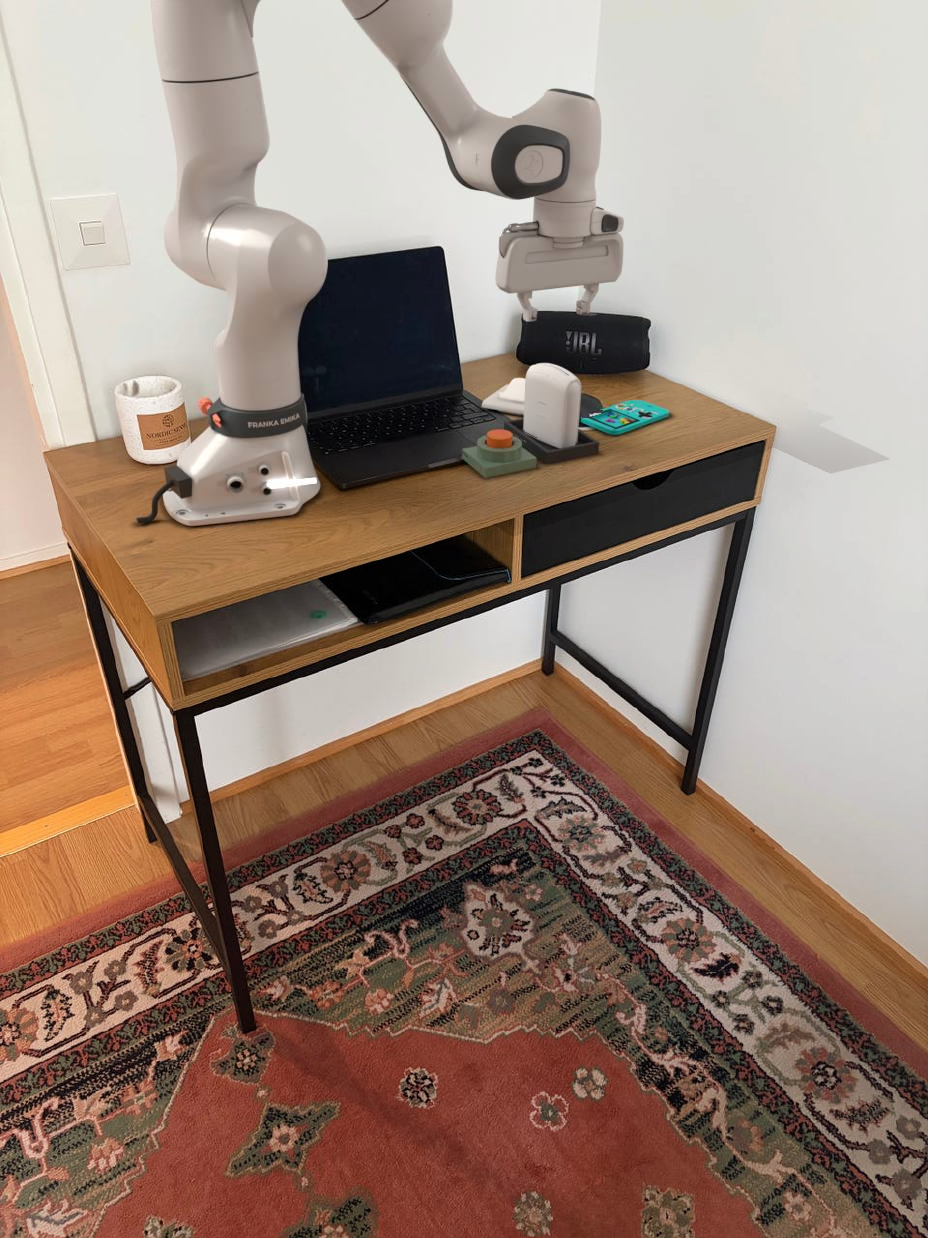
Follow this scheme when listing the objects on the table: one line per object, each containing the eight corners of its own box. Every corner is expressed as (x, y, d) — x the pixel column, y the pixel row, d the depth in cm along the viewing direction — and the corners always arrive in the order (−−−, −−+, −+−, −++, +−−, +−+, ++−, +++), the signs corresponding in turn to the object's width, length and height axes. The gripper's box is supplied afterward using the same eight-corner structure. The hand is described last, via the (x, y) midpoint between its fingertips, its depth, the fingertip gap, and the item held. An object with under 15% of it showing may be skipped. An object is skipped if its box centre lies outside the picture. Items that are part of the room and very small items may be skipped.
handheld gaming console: (672, 409, 160) (615, 430, 152) (671, 415, 160) (614, 436, 152) (635, 396, 165) (578, 416, 157) (635, 402, 166) (578, 421, 157)
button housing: (485, 478, 138) (485, 456, 136) (462, 458, 144) (462, 438, 142) (536, 467, 142) (537, 446, 140) (511, 449, 147) (512, 428, 146)
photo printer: (518, 433, 152) (522, 360, 145) (537, 427, 154) (541, 355, 147) (561, 453, 145) (567, 377, 138) (580, 446, 147) (587, 372, 140)
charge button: (494, 451, 139) (494, 440, 138) (482, 442, 142) (482, 431, 141) (516, 447, 140) (517, 436, 139) (504, 438, 143) (505, 427, 142)
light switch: (563, 379, 166) (540, 397, 156) (561, 401, 168) (538, 420, 158) (508, 370, 169) (482, 387, 159) (506, 392, 171) (480, 410, 161)
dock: (546, 464, 143) (547, 452, 142) (503, 432, 153) (504, 421, 152) (598, 453, 146) (599, 442, 145) (552, 423, 157) (553, 412, 156)
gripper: (511, 228, 124) (506, 330, 132) (633, 218, 132) (623, 314, 139) (489, 220, 129) (486, 319, 136) (609, 210, 136) (600, 304, 144)
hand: (556, 316), depth 138 cm, fingers open, 8 cm apart
